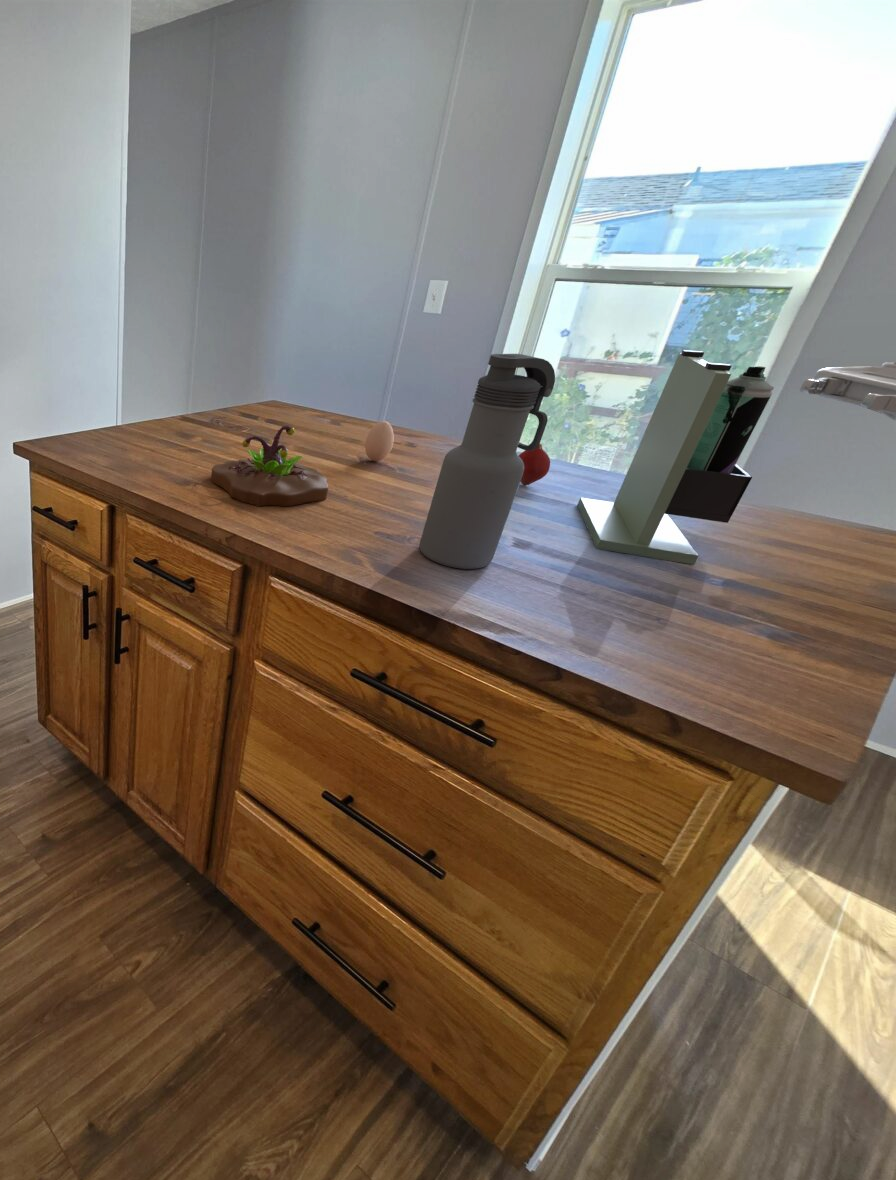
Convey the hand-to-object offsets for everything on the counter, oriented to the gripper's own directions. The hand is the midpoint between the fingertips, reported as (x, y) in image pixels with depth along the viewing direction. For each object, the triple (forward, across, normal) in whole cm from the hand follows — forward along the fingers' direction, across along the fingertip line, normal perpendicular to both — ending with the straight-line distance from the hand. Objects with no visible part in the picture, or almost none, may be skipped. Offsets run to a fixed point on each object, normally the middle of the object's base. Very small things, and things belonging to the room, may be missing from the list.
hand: (835, 393), depth 91 cm
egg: (+47, +36, -23) cm, 63 cm away
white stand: (+15, +1, -23) cm, 28 cm away
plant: (+72, +18, -23) cm, 77 cm away
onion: (+23, +24, -23) cm, 40 cm away
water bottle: (+49, -10, -23) cm, 55 cm away
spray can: (+12, 0, -17) cm, 21 cm away
